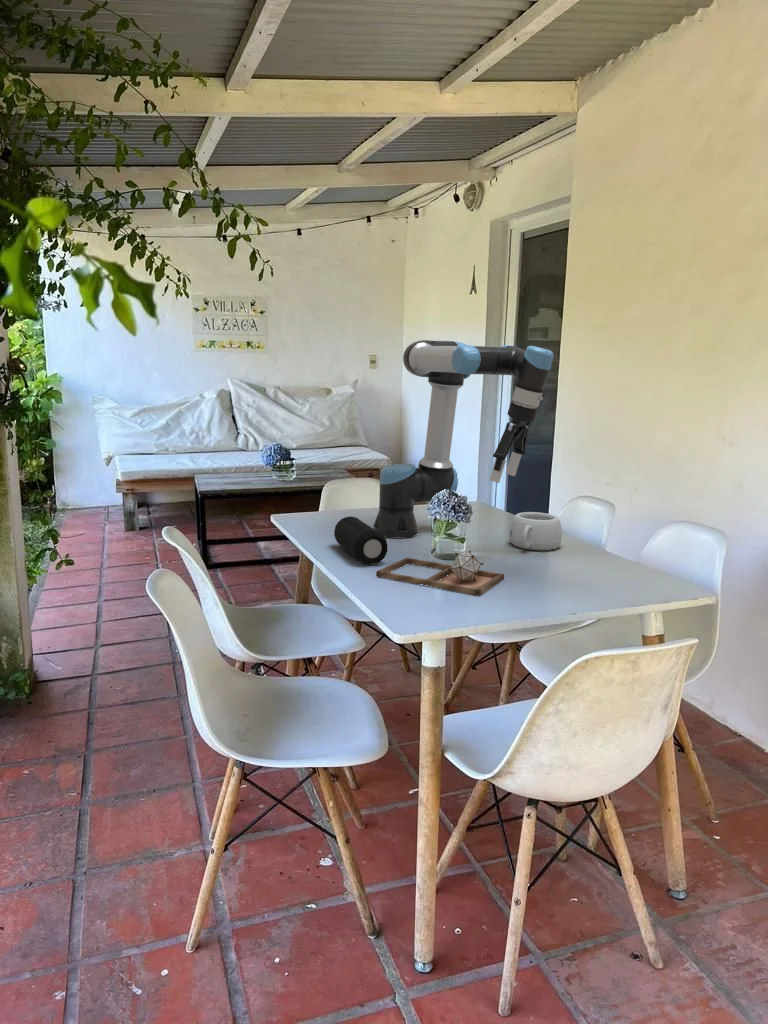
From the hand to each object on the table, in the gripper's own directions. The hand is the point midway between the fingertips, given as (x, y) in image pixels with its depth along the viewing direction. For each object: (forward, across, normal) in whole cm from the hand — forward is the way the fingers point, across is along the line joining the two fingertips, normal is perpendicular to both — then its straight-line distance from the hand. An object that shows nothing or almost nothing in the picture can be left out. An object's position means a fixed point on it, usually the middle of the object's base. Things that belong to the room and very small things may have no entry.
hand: (502, 478), depth 210 cm
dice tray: (+28, -18, +4) cm, 33 cm away
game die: (+26, -18, -3) cm, 32 cm away
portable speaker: (+35, -9, +33) cm, 49 cm away
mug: (+26, +32, -7) cm, 42 cm away
